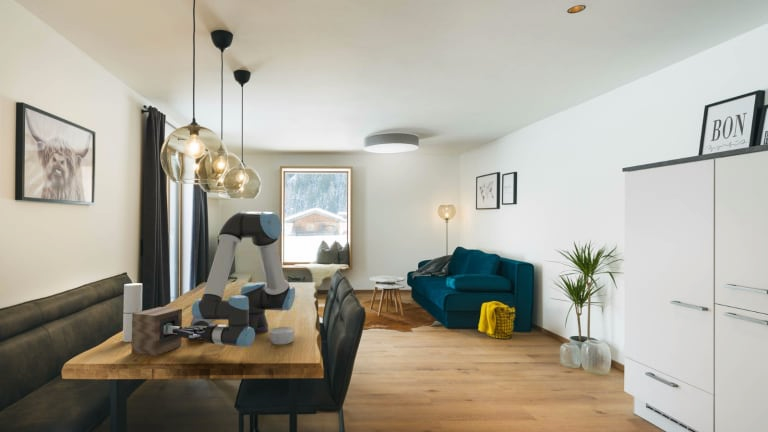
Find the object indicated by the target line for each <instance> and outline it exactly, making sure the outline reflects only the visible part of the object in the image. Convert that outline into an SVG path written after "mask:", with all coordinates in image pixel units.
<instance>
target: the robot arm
mask: <svg viewBox="0 0 768 432" xmlns="http://www.w3.org/2000/svg"><path fill="white" fill-rule="evenodd" d="M281 221H282V220H280V217H279V215H278V214H277V213H275V212H273V211H271V212H270V211H240V212H237V213H235V214H233V215H232V216H230V218H229V219H227V221H225V223H224V224H223V225H222V227H221V228H220V230H219V234H218V237H217V238H218V245H217V248H216V252H215V255H214V259H213V262H212V265H211V268H210V271H209V274H208V277H207V280H206V281H207V282H206V283H205V284H206V285H205V288H204V291H203V294H202V297H201V298H199V299H195V301H194V302H193V303H192V306H191V315H192V316H193V317H195V318H198V319H212V320H219V321H221V320H222V321H228V324H217V323H212V324H209V325H208V326H191V325H189V326H181V327H178V326H168V333H171V334H177V336H179V337H182V339H188V340H189V341H192V340H194V339H199V340H204V342H205V343H206V344H213V345H222V347H223V346H233V347H238V348H241V347H242V348H244V347H245V348H247V347H250V346H252V344H253V343H254V341H255V337H256V334H260V333H265V332H267V331H268V330H269V323H268V320H267V316H266V310H267V311H280V312H281V311H282V312H283V311H290V310H291V309H292V307H293V305H294V302H295V298H296V290H295V289H296V288H295V286H290V283H289V281H288V280H287V279H286V278H285V275H284V272H283V271H284V270H283V267H282V262H281V258H280V253H279V248H278V244H277V242H278V241H279V238H280V237H281V234H282V222H281ZM244 238H245V239H251V242H252V244H253V245H254V246H256V248H257V252H258V255H259V259H260V263H261V267H262V270H263V276H264V279H265V282H255V283H248V284H245V285H243V286H241V289H240V294H239V295H237V294H236V295H231V296H230V297H229V298H228V300H223V296H224V292H225V289H226V286H227V283H228V279H229V275H230V272H231V268H232V267H233V266H232V265H233V262H234V259H235V255H236V252H237V249H238V248H237V247H238V246H239V245H241V243H242V240H243V239H244Z"/></svg>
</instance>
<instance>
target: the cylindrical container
mask: <svg viewBox="0 0 768 432" xmlns="http://www.w3.org/2000/svg"><path fill="white" fill-rule="evenodd" d="M122 311H123V312H122V313H123V315H122V316H123V317H122V321H123V323H122V324H123V325H122V342H125V343H128V342H131V343H132V314H133V313H137V312H141V311H143V283H141V282H140V283H139V282H137V283H135V282H134V283H124V285H123V310H122Z"/></svg>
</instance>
